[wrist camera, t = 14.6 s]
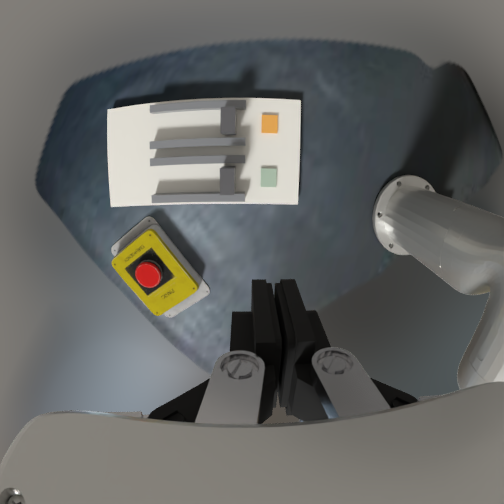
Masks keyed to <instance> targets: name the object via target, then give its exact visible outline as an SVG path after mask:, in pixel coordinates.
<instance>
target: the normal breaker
mask: <svg viewBox="0 0 504 504" xmlns="http://www.w3.org/2000/svg"><path fill="white" fill-rule="evenodd" d="M235 189H236V166H222V167H221V168H220V195H234V194H235Z"/></svg>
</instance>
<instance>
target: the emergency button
mask: <svg viewBox="0 0 504 504" xmlns="http://www.w3.org/2000/svg"><path fill="white" fill-rule="evenodd" d="M111 251H112V253H113V255H114V256H115V257H114V258H113V260H112V266H113V268H114V269H115V270H116V271H117V272H118V274H119V275H120V276H121V277H122V278H123V280H124V281H125V282H126V283H127V284H128V286H129V287H130V288H131V289H132V290H133V291H134V293H135V294H136V295H137V296H138V297H139V298H140V299H141V301H142V302H143V303H144V304H145V305H146V306H147V307H148V308H149V310H150V311H151V312H152V313H153V314H154V315H157V316H159V315H162V314H164V315H165V316H167V317H170V318H171V317H174V316H175V315H177V314H178V313H180V312H182V311H183V310H185V309H186V308H188V307H190V306H191V305H193V304H194V303H196V302H198V301H199V300H201V299H202V298H204V297H206V296H207V295H208V294H209V293H210V289H209V287H208V285H207V284H206V283H205V282H204V281H203V279H202V278H201V277H200V276H199V274H198V273H197V272H196V271H195V270H194V268H193V267H192V266H191V265H190V263H189V262H188V261H187V260H186V258H185V257H184V256H183V255H182V253H181V252H180V251H179V250H178V248H177V247H176V246H175V245H174V243H173V242H172V241H171V240H170V238H169V237H168V236H167V234H166V233H165V232H164V231H163V229H162V228H161V227H160V225H159V224H158V223H157V221H156V220H155V219H154V218H153V217H150V216H148V217H146V218H144V219H143V220H142V221H141V222H140V223H138V224H137V225H136V226H135V227H134V228H133V229H131V230H130V231H129V232H128V233H127V234H126V235H124V236H123V237H122V238H121V239H120V240H119V241H117V242H116V243H115V244H114V245H113V246H112V248H111Z"/></svg>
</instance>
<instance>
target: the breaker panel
mask: <svg viewBox="0 0 504 504" xmlns="http://www.w3.org/2000/svg"><path fill="white" fill-rule="evenodd" d="M221 107H236V111H237V125H236V135H223V134H221V133H220V119H221ZM300 126H301V100H291V99H272V98H208V99H189V100H176V101H165V102H156V103H147V104H140V105H133V106H126V107H120V108H114V109H108V118H107V143H108V172H109V188H110V200H111V207H120V206H142V205H171V204H297V205H298V190H299V164H300ZM222 166H236V189H235V194H234V195H220V168H221V167H222Z"/></svg>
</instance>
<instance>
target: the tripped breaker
mask: <svg viewBox="0 0 504 504" xmlns="http://www.w3.org/2000/svg"><path fill="white" fill-rule="evenodd" d="M236 125H237V111H236V107H221V119H220V133H221V134H223V135H236Z"/></svg>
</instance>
